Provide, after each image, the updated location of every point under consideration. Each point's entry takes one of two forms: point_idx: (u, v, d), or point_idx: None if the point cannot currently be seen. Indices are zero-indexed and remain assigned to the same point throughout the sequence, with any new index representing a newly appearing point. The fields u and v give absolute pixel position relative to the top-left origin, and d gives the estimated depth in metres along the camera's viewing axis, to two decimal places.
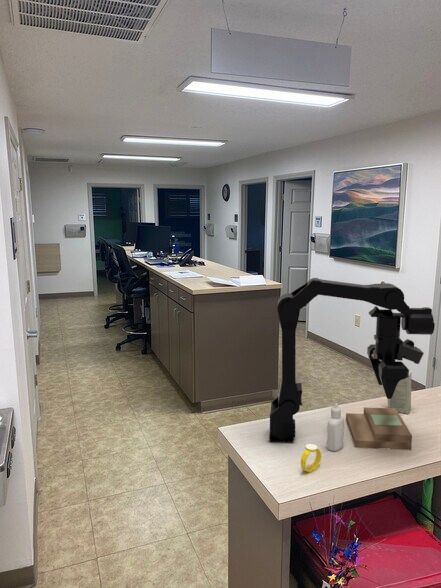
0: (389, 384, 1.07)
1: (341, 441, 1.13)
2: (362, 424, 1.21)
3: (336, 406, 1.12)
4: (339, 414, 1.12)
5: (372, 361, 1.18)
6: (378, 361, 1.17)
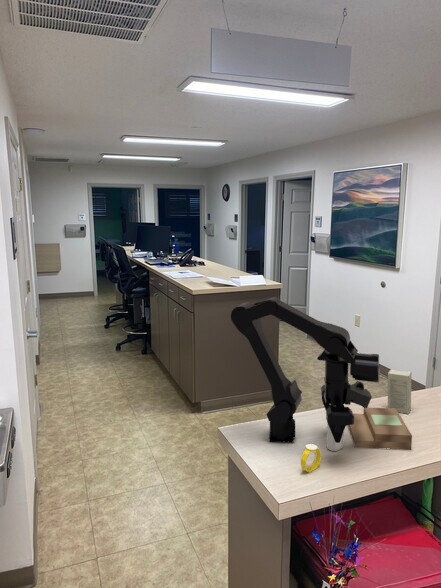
0: (336, 429, 1.07)
1: (341, 441, 1.13)
2: (362, 424, 1.21)
3: None
4: None
5: (324, 403, 1.17)
6: None
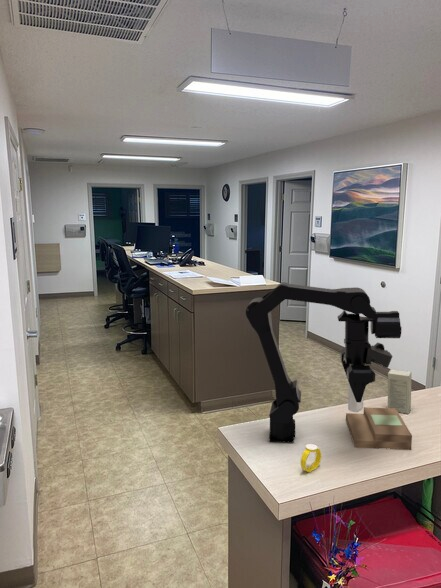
0: (357, 388, 1.08)
1: (362, 402, 1.13)
2: (362, 424, 1.21)
3: None
4: None
5: (344, 365, 1.18)
6: None
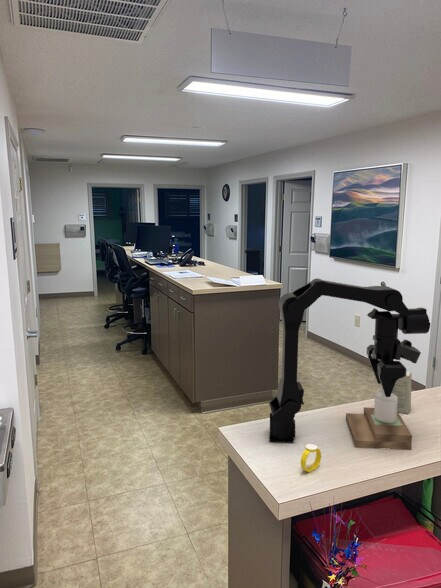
0: (387, 383, 1.11)
1: (383, 416, 1.17)
2: (362, 424, 1.21)
3: None
4: None
5: (371, 361, 1.22)
6: (377, 361, 1.22)
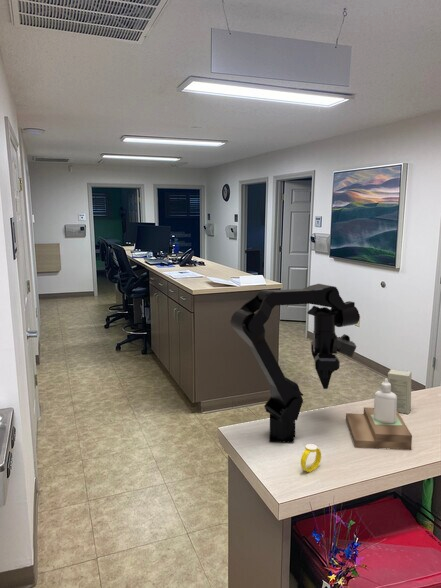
0: (324, 375, 1.18)
1: (383, 415, 1.17)
2: (362, 424, 1.21)
3: (384, 381, 1.17)
4: (383, 388, 1.16)
5: (314, 355, 1.28)
6: None
